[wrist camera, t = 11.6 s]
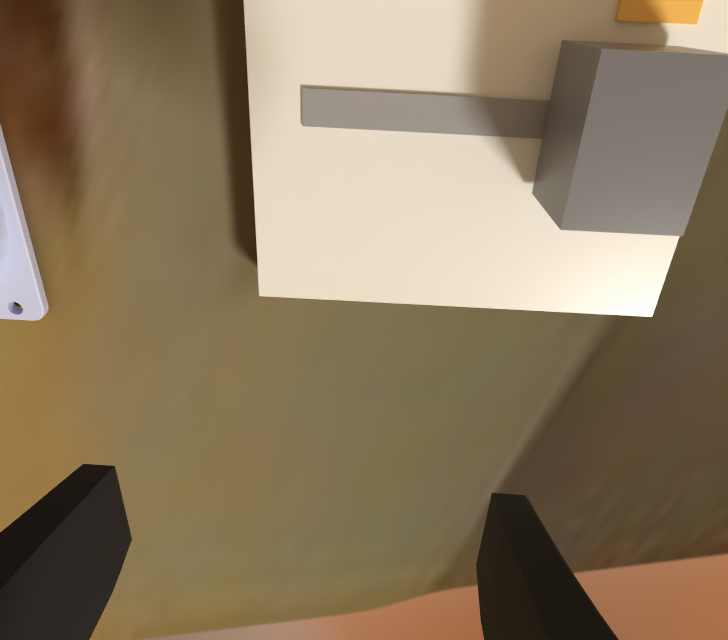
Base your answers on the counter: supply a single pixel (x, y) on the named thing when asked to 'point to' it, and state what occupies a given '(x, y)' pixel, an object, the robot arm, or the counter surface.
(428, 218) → the switch console
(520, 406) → the counter surface
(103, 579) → the robot arm
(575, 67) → the switch
